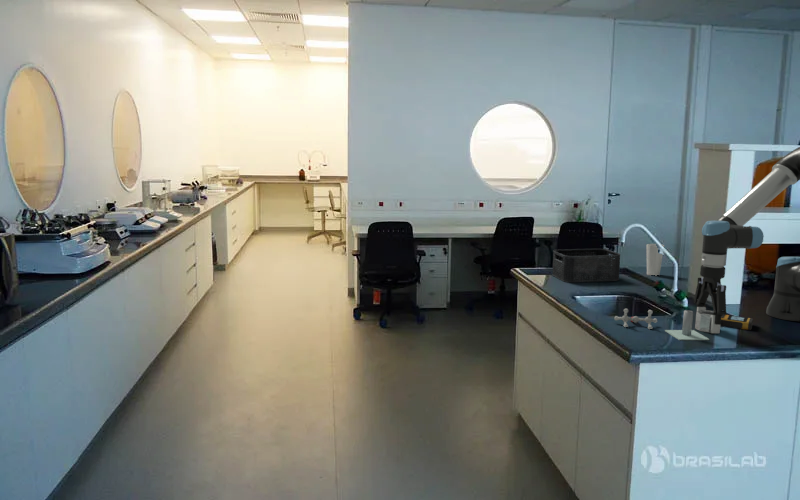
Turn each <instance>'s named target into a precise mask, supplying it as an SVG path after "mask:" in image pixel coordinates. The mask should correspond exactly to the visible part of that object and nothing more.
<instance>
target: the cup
mask: <svg viewBox="0 0 800 500" xmlns="http://www.w3.org/2000/svg"><path fill="white" fill-rule="evenodd" d="M656 244H657V243H647V244H646V275H647V276H651V275H655V276H654V277H658V276H657V275H659V276H660V273H661V269H662V262H663V257H664V256H663V255H664V254H663V255H662V254H659V253H658V248H657V246H656ZM661 245H662V246H663V247H664V248H665V244H661Z"/></svg>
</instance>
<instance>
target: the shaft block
mask: <svg viewBox="0 0 800 500" xmlns="http://www.w3.org/2000/svg"><path fill="white" fill-rule="evenodd" d="M693 318H694V311H693V310H688V309H687V310H683V317H682V328H681V329H664V332H666V333H667V334H668V335H670V336H672V337H673V338H675V339H677V340H678V341H710V338H708V337H707V336H705V335H703V334H701V333H700V332H698V331H696V330H695V329H692V328H693V321H694V319H693Z"/></svg>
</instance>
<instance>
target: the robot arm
mask: <svg viewBox="0 0 800 500" xmlns="http://www.w3.org/2000/svg"><path fill="white" fill-rule="evenodd" d="M799 181H800V146H799V147H797V148H795V149H793V150H792V151H790V152H788V153H787V154H786V155H784V156H783V157H782V158H781V159H779V160H778V161H777V162H776V163H775V164H774V165H773V166H772V168H771V172H769V173H768V174H767V175H766V176H764V178H763V179H761V180H760V181H759V182H758V183H757V184H756V185H755V186H754V187H752V188H751V189H750V190H749V191H748V192H746V194H745V195H743V197H741V198H740V199H739V200H738V201H736V203H735V204H733V205H732V206H731V207H730V208H729V209H728V210H727V211H726V212H724V213H723V215H721V216H720V217H719V218H718V219H716V220H714V219H713V220H707V221H705V223H704V225H703V226H702V229H701V235H702V236H703V237H702V249H701V251H702V252H701V253H702V254H701V257H700V258H701V261H700V264H701V265H700V269H699V270H700V271H699V274H700V277H697V285H696V289H695V293H694V297H693V304H695V305H696V312H697V311H699V310H707V304H706V302H707V301H708V298H709V296H710V297H711V304H712V309H713V310H712V311H714V313H712V322H711V333H710V334H721V333H720V331H721V326H720V324H721V316H722V315H727V297H726V294H727V293H726V292H727V285H725V284H722V282H721V280H722V279H724V278H725V275H726V267H725V266H727V255H728V249H729V250H731V249H748V250H750V249H757V248H759V247H760V246H761V245H762V244H763V242H764V237H765V236H764V235H765V234H764V232H763V230H762V229H761V228H760V227H758V226H752V225H749V226H744V225H746V224H747V223H748V222H749V221H750V220H752V218H754V217H755V216H756V215H757V214H758V213H760V212H761V210H763V209H764V208H765V207H766V206H767V205H768V204H770V203H771V202H772V201H773V200H774V199H775V198H776V197H777V196H778V195H780V194H781V193H782V192H783V191H785V189H787V188H788V187H789V186H790V185H795V184H797V183H798V182H799ZM775 268H776V269H775V279H774V280H775V281H774V290H773V295H772V297H771V299H770V301H769V302H768V305H767V306H766V312H765V313H766V315H767V316H769V317H772V318H774V319H775V318H776V319H780V320H785V321H793V322H800V256H781V257H779V258H778V259H777V264H776V266H775Z"/></svg>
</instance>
